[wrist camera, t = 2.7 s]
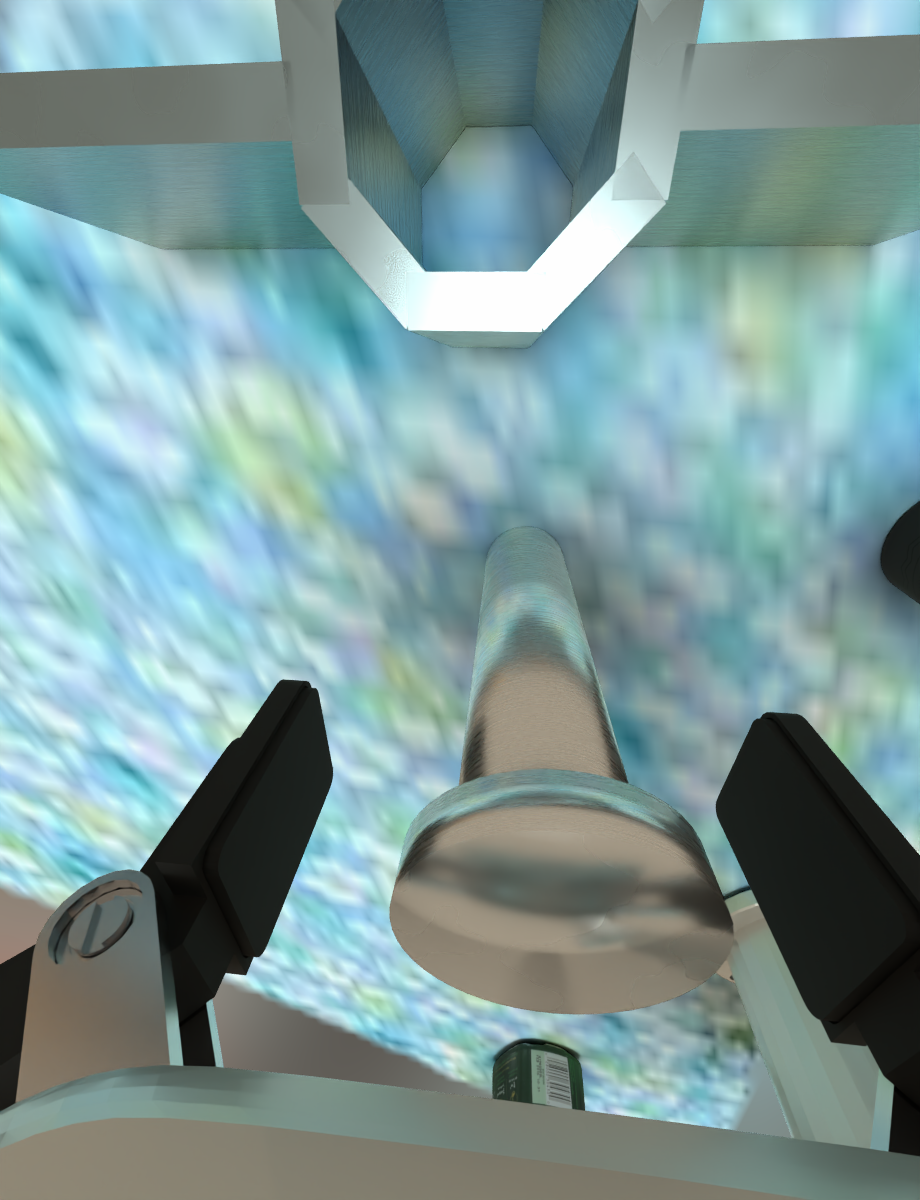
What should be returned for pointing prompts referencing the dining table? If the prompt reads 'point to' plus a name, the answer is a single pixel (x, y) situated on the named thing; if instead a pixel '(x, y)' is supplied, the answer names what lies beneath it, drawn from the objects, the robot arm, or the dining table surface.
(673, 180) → the hinge
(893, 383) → the dining table surface
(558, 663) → the hinge pin
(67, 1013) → the robot arm
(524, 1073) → the coffee jar
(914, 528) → the drinking cup
